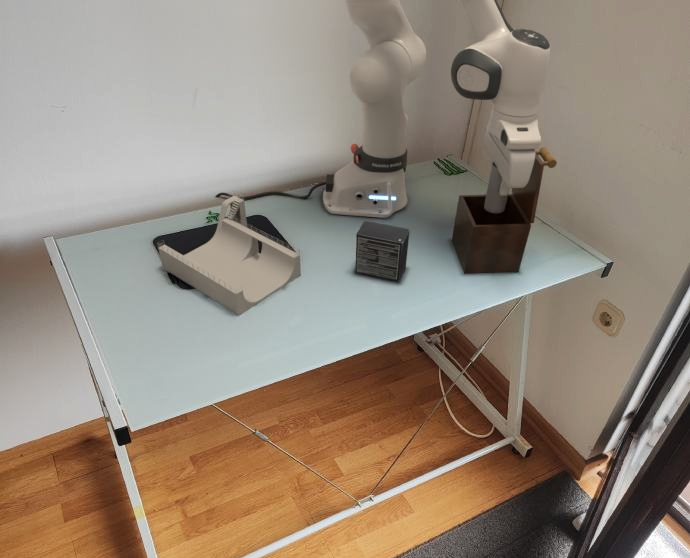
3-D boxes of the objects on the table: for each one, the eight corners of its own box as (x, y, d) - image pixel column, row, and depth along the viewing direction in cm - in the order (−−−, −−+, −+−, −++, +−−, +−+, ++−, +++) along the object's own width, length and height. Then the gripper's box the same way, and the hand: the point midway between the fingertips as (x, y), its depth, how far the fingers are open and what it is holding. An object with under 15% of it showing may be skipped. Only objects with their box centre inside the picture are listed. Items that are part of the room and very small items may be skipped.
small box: (407, 267, 132) (411, 227, 125) (399, 284, 128) (403, 243, 121) (362, 258, 135) (364, 218, 128) (353, 274, 130) (355, 233, 123)
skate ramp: (163, 268, 131) (153, 229, 124) (238, 227, 144) (233, 190, 137) (239, 315, 119) (233, 275, 112) (313, 266, 132) (312, 228, 125)
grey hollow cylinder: (500, 215, 126) (510, 171, 119) (480, 209, 127) (489, 165, 120) (507, 206, 128) (517, 162, 121) (488, 201, 130) (497, 157, 123)
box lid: (540, 164, 114) (565, 161, 114) (519, 135, 124) (542, 133, 124) (530, 223, 123) (553, 221, 123) (511, 192, 133) (533, 190, 133)
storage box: (464, 274, 131) (473, 226, 123) (451, 241, 141) (459, 195, 133) (518, 272, 132) (531, 225, 124) (502, 239, 142) (512, 193, 134)
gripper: (483, 103, 122) (472, 165, 132) (511, 145, 107) (497, 211, 117) (512, 103, 123) (499, 164, 132) (544, 144, 108) (527, 210, 117)
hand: (498, 187), depth 124 cm, fingers closed on grey hollow cylinder, 4 cm apart
